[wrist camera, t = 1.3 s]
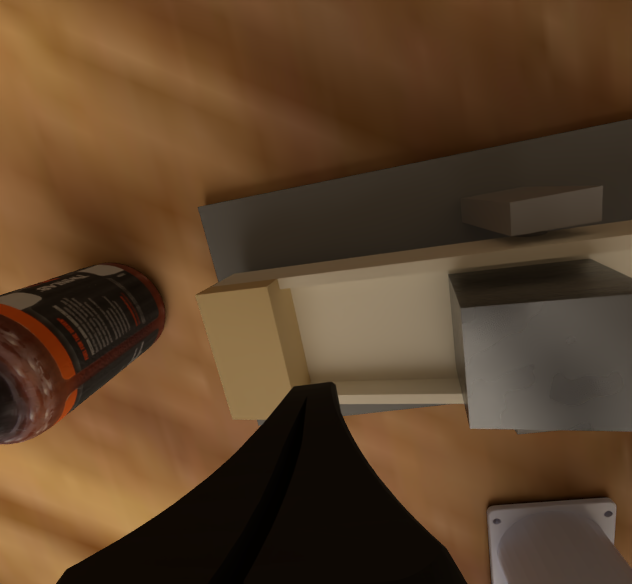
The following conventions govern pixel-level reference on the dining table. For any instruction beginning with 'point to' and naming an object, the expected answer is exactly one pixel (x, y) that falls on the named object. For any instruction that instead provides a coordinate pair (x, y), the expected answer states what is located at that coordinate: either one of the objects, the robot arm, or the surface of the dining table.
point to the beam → (369, 318)
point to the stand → (430, 207)
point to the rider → (544, 346)
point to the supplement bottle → (70, 342)
